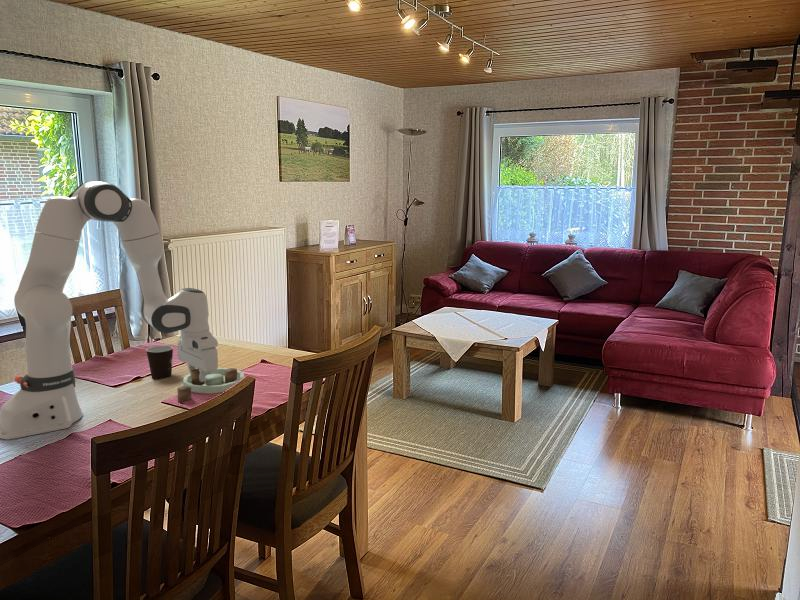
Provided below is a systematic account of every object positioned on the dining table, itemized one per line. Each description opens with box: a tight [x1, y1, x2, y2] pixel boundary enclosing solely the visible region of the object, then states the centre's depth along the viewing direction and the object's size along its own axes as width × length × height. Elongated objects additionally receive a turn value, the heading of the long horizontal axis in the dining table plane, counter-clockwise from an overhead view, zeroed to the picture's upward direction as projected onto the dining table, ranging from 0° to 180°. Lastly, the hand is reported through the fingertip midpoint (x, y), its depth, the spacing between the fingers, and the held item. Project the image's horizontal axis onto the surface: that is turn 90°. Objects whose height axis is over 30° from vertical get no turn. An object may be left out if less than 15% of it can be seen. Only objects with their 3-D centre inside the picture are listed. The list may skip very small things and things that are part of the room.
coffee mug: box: [145, 344, 174, 380], centre depth 218 cm, size 12×9×10 cm
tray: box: [182, 367, 245, 394], centre depth 208 cm, size 20×20×3 cm
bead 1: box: [176, 386, 192, 405], centre depth 194 cm, size 4×4×4 cm
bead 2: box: [191, 368, 205, 385], centre depth 204 cm, size 4×4×4 cm
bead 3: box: [225, 367, 238, 384], centre depth 208 cm, size 4×4×4 cm
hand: (198, 379), depth 204 cm, fingers closed on bead 2, 4 cm apart
